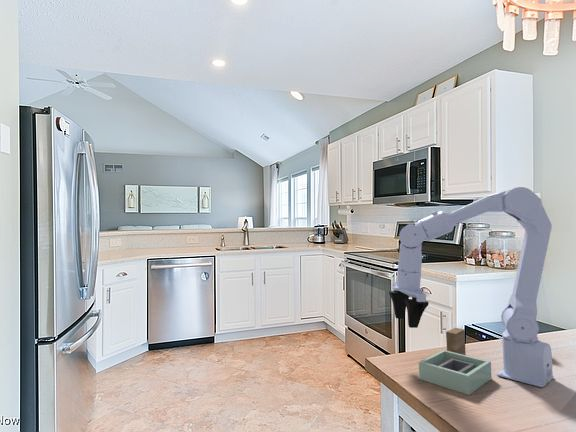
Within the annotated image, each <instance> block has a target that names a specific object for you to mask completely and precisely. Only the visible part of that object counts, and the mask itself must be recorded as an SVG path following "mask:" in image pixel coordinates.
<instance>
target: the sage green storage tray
mask: <svg viewBox="0 0 576 432" xmlns="http://www.w3.org/2000/svg"><path fill="white" fill-rule="evenodd" d="M418 372H419V373H418V374H419V375H418V376H419V380H421V381H424V382H428V383H431V384H434V385H437V386H439V387H442V388H446V389H449V390H452V391H455V392H459V393H462V394H465V395H468V396H470V395H471V394H472V393H474V392H475V391H477V390H478V389H479V388H481V387H482V386H484V385H485V384H486V383H488V382H489V381H491V380H492V377H493V376H492V360H491V361H490V360H486V359H482V358H478V357H474V356H469V355H462V354H458V353H454V352H450V351H447V349H442V350H439V351H438V352H436V353H433V354H432V355H430V356H428V357H425V358H424V359H422V360H420V361H418Z"/></svg>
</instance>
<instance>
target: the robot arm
mask: <svg viewBox="0 0 576 432" xmlns="http://www.w3.org/2000/svg"><path fill="white" fill-rule="evenodd" d="M487 212H490V213H491V212H492V213H501V212H502V213H503V212H504V213H505V214H507V215H509V216H510V217H512V218H514V219H515V220H516V221H517V222H518V223H519V224H520V225H521V227H522V228H523V229H524V235H523V239H522V246H521V250H520V255H519V260H518V264H517V265H518V266H517V269H516V274H515V280H514V284H513V289H512V293H511V295H510V297H509V300H508V304H507V305H506V307H505V308H504V310H503V311H502V313H501V315H500V317H501V321H502V324H503V325H504V327H505V330H504V331H503V332H502V333H501V336H502V337H501V339H502V361H503V369H501V370H499V372H497V373H496V376H498V377H502V378H506V379H509V380H513V381H515V382H516V381H518V382H520V383H524V384H528V385H532V386H535V387H539V388H544V387H545V386H546V385H547V384H549V383H550V381H552V379H554V378H555V375H553V374H554V373H553V356H552V354H553V352H552V347H551V345H550V344H549V343H547V342H545V341H542V340H539V337H538V334H539V330H540V329H539V324H538V321H537V316H538V307H537V298H538V294H539V289H540V284H541V281H542V275H543V271H544V267H545V266H544V265H545V260H546V256H547V252H548V251H547V250H548V247H549V242H550V238H551V232H552V222H551V220H550V218H549V215H548V214H547V212H546V210H545V207H544V205H543V201H542V199H541V198H540V197H539V195H537V194H536V193H535V192H534V191H533V190H531V189H529V188H527V187H523V186H519V187H513V188H512V189H509V190H504V191H501V192H498V193H497V192H496V193H493V194H490V195H486V196H485V197H482V198H480V199H478V200H476V201H473V202H472V203H469V204H466V205H465V206H463V207H461V208H458V209H455V210H454V211H452V212H447V211H445V210H440V211H438V210H434V211H432V212H431V215H429V216H427V217H423V218H422V219H414V220H413V222H414V224H412V223H411V224H410V223H409V224H407V225H406V226H404V227H402V228H401V230H400V231H399V235H398V237H399V241H400V244H399V252H398V264H397V265H398V267H397V281H393V282H392V290H389V291H388V293H389V296H390V298H391V301H392V306H393V311H394V316H395V319H405V315H406V312H407V325H408V327H409V328H411V329H415V328H417V329H418V327H419V324H420V322H421V318H422V316H423V314H424V312H425V310H426V309H427V307H428V306H429V301H428V300H427V293H424V291H423V290H422V289H421V279H422V265H423V263H422V262H423V254H422V246H423V245H422V243H423V242H424V241H426V242H430V241H432V240H435V239H436V238H441V236H445V235H446V234H449V233H451V232H453V230H454V227H455V225H456V224H459V223H462V222H464V221H467V220H469V219H473V218H475V217H477V216H479V215H482V214H485V213H487Z"/></svg>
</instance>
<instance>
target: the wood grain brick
mask: <svg viewBox="0 0 576 432" xmlns="http://www.w3.org/2000/svg"><path fill="white" fill-rule="evenodd" d="M445 335H446V336H445V338H446V351H450V352H454V353H458V354H462V355H466V353H467V351H466V335H465V329H464V328H459V327H454V328H451V329H449V330H447V331H445ZM466 356H467V355H466Z"/></svg>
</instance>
